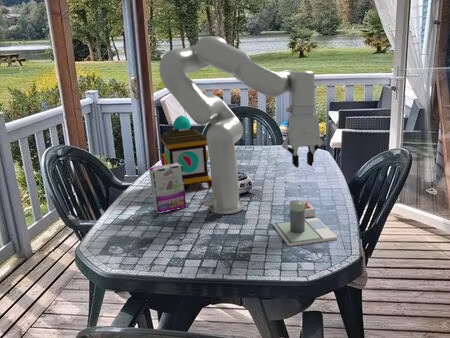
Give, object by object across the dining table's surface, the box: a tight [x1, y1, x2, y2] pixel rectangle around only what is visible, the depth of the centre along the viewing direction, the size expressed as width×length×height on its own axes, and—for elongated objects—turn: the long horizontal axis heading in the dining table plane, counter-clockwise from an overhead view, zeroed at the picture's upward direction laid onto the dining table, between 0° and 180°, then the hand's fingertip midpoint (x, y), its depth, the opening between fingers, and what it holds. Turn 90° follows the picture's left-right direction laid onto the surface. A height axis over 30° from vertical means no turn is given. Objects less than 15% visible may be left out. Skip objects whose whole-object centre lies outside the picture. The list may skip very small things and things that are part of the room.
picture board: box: [272, 217, 339, 247], centre depth 136 cm, size 15×16×1 cm
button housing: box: [305, 202, 316, 218], centre depth 150 cm, size 6×6×3 cm
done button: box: [302, 200, 309, 209], centre depth 150 cm, size 3×3×3 cm
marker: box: [289, 199, 306, 233], centre depth 134 cm, size 4×4×9 cm
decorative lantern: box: [159, 115, 212, 188], centre depth 184 cm, size 20×20×30 cm
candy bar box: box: [148, 163, 187, 213], centre depth 160 cm, size 11×5×16 cm, turn 117°
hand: (302, 165), depth 146 cm, fingers open, 4 cm apart
